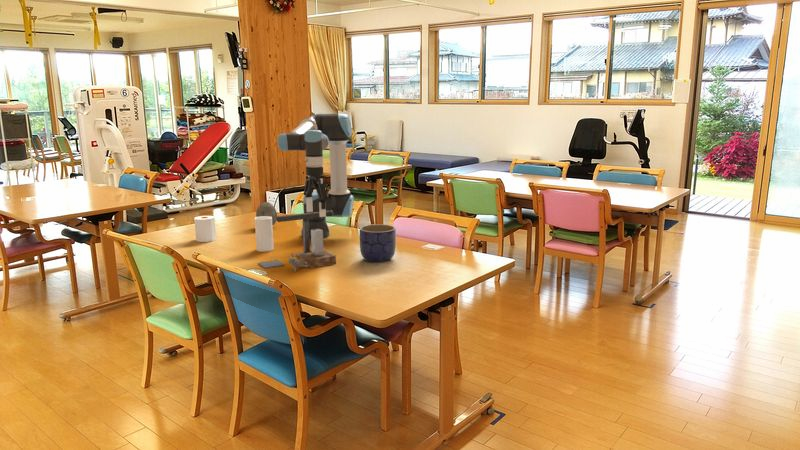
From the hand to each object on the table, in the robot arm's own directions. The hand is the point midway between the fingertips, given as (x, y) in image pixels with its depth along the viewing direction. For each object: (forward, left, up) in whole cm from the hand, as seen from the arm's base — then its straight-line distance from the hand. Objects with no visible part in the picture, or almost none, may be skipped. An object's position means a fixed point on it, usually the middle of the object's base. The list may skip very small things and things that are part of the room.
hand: (316, 214), depth 250 cm
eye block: (0, 0, -22) cm, 22 cm away
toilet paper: (+31, -71, -23) cm, 81 cm away
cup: (+12, -35, -23) cm, 43 cm away
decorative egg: (-6, -81, -23) cm, 85 cm away
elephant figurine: (+12, +4, -23) cm, 26 cm away
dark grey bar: (0, -12, -5) cm, 13 cm away
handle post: (0, -12, -22) cm, 25 cm away
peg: (0, 0, -22) cm, 22 cm away
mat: (+19, -8, -22) cm, 30 cm away
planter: (-25, +11, -23) cm, 35 cm away
